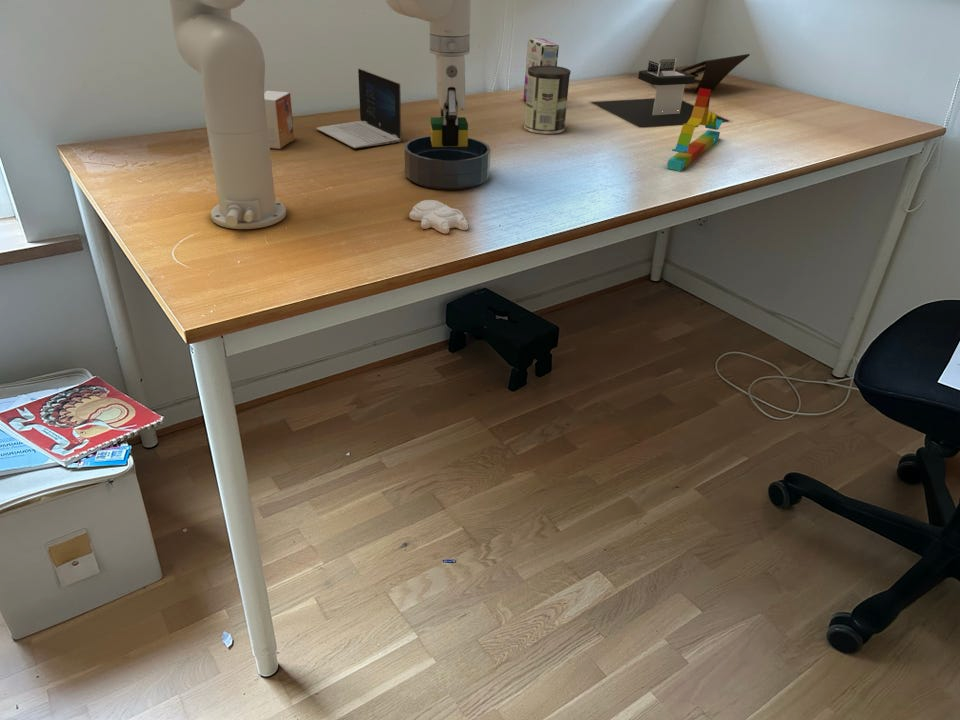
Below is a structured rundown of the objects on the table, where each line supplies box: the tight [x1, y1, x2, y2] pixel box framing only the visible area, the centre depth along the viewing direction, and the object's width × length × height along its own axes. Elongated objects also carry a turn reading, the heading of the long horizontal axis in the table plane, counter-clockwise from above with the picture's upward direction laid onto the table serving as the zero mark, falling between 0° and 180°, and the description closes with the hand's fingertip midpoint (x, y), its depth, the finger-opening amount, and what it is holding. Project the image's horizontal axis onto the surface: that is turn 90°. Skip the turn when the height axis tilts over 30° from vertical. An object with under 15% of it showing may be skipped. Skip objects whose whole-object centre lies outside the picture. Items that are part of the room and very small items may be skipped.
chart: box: [666, 88, 724, 172], centre depth 167 cm, size 30×3×15 cm, turn 149°
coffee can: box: [523, 65, 572, 135], centre depth 180 cm, size 10×10×14 cm
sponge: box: [430, 116, 469, 147], centre depth 146 cm, size 5×7×4 cm
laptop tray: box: [679, 53, 750, 93], centre depth 228 cm, size 23×23×9 cm
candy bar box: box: [522, 37, 560, 102], centre depth 200 cm, size 11×5×16 cm, turn 17°
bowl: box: [403, 135, 492, 191], centre depth 149 cm, size 17×17×6 cm
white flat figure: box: [408, 199, 469, 235], centre depth 129 cm, size 9×12×3 cm
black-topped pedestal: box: [592, 58, 730, 128], centre depth 200 cm, size 28×26×13 cm
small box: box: [264, 90, 295, 150], centre depth 161 cm, size 8×6×10 cm
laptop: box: [315, 68, 402, 149], centre depth 168 cm, size 18×12×13 cm
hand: (448, 140), depth 147 cm, fingers closed on sponge, 4 cm apart
